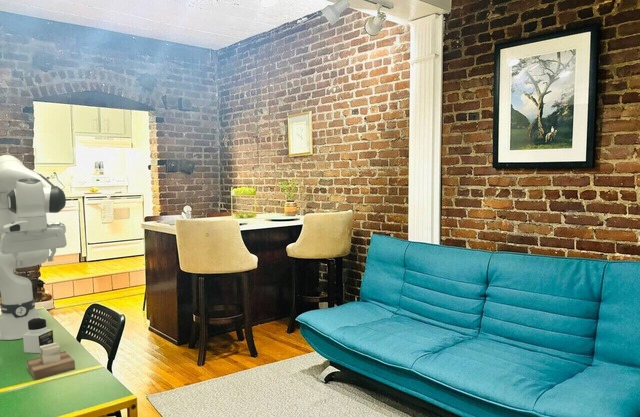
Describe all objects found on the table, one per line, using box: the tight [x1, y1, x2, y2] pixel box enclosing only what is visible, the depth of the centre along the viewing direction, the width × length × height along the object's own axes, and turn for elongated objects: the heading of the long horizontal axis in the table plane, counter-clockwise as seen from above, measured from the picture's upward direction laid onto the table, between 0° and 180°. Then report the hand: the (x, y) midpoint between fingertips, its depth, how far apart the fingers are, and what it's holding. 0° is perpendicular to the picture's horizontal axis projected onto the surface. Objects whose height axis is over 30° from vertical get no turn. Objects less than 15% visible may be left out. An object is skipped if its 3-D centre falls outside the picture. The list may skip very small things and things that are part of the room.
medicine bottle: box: [22, 317, 55, 354], centre depth 182 cm, size 7×7×12 cm
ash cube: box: [39, 342, 61, 365], centre depth 163 cm, size 5×5×5 cm
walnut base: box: [26, 350, 76, 381], centre depth 164 cm, size 12×12×3 cm
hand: (35, 263), depth 170 cm, fingers open, 8 cm apart
